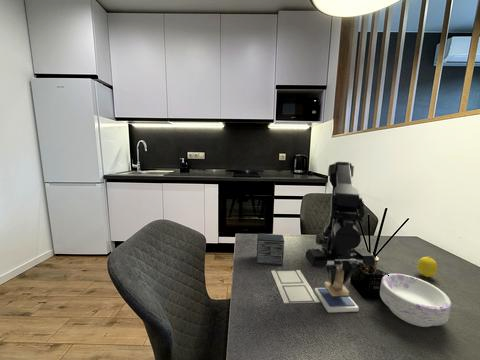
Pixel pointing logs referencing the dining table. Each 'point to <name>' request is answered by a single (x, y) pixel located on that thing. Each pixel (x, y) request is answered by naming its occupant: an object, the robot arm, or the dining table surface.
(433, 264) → the lemon
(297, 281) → the print sheet
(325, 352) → the dining table surface
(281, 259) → the small box
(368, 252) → the robot arm
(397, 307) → the paper bowls
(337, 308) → the ink pad
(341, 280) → the stamp
